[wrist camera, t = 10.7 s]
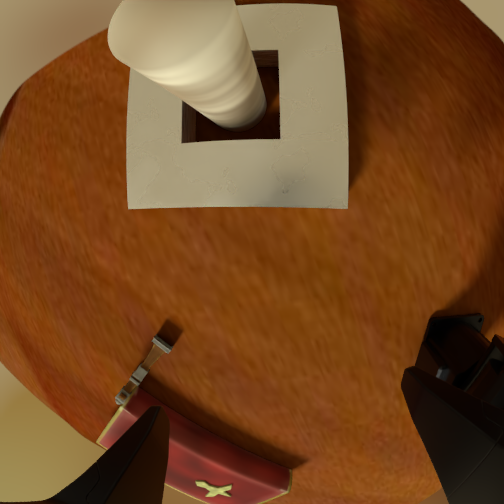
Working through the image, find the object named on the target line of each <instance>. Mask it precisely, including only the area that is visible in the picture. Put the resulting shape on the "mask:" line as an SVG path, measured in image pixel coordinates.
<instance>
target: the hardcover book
mask: <svg viewBox="0 0 504 504" xmlns="http://www.w3.org/2000/svg"><path fill="white" fill-rule="evenodd" d="M152 405H160V406H162V407H163V408H164V410H165V412H166V414H167V416H168V418H169V421H170V433H169V458H168V465H167V471H166V478H165V485H167V486H169V487H171V488H173V489H175V490H177V491H179V492H181V493H184V494H186V495H188V496H190V497H192V498H195V499H197V500H199V501H202V502H204V503H207V504H262V503H265V502H267V501H270V500H272V499H275V498H277V497H280V496H282V495H284V494H287V493H289V492H290V490H291V485H292V470H291V469H288V468H286V467H283V466H281V465H278V464H276V463H274V462H271V461H269V460H267V459H264V458H262V457H260V456H257V455H255V454H253V453H251V452H249V451H247V450H244V449H242V448H240V447H238V446H236V445H234V444H232V443H230V442H228V441H226V440H224V439H223V438H221V437H219V436H217V435H215V434H213V433H211V432H209V431H208V430H206V429H204V428H202V427H201V426H199V425H197V424H195V423H194V422H192V421H190V420H189V419H187V418H185V417H184V416H182V415H180V414H179V413H177V412H176V411H174V410H172V409H171V408H169V407H168V406H166V405H165V404H163V403H162V402H160V401H159V400H157V399H156V398H154V397H153V396H151V395H150V394H148V393H147V392H146V391H144V390H143V389H141V388H140V387H139V386H137V385H136V386H135V388H134V389H133V390H132V393H131V395H130V396H129V397H128V398H127V399H126V401H125V402H124V404H122V405H121V406H120V408H119V409H118V410H117V412H116V413H115V415H114V416H113V418H112V419H111V421H110V422H109V423H108V425H107V426H106V428H105V429H104V431H103V432H102V434H101V435H100V437H99V438H98V439H97V441H96V442H97V443H98V444H99V445H101V446H102V447H104V448H105V449H107V450H108V449H109V448H110V447H111V446H112V445H113V444H114V443H115V442H116V441H117V440H118V439H119V438H120V437H121V436H122V435H123V434H124V433H125V432H126V431H127V430H128V429H129V428H130V427H131V426H132V425H133V424H134V423H135V422H136V421H137V419H138V418H139V417H140V416H141V415H142V414H143V413H144V412H145V411H146V410H147V409H148V408H149V407H150V406H152Z"/></svg>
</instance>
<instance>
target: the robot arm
mask: <svg viewBox="0 0 504 504" xmlns="http://www.w3.org/2000/svg"><path fill="white" fill-rule="evenodd" d="M483 321H484V316H483V315H482V314H480V313H478V314H468V315H457V316H445V317H433V318H431V319H430V320H429V322H428V325H427V329H426V333H425V336H424V340H423V342H422V344H421V347H420V351H419V354H418V357H417V360H416V363H415V366H412V367H409V368H406V369H405V370H404V374H403V378H402V382H401V389H402V392H403V394H404V397H405V400H406V403H407V406H408V409H409V412H410V414H411V417H412V420H413V422H414V424H415V426H416V428H417V431H418V433H419V435H420V437H421V439H422V441H423V443H424V446H425V448H426V450H427V452H428V454H429V457H430V459H431V461H432V463H433V466H434V468H435V470H436V473H437V475H438V477H439V480H440V482H441V485H442V487H443V489H444V492H445V494H446V497H447V500H448V502H449V504H504V338H502V337H501V336H499V335H497V334H495V335H494V337H493V338H492V342H490V341H489V340H488V339H487V338H486V337H485V336H484V335H483V334H482V333H481V332H480V330H481V327H482V324H483ZM434 322H435V324H434V325H432V324H433V323H434ZM169 433H170V421H169V418H168V416H167V414H166V412H165V410H164V408H163V407H162V406H160V405H152V406H150V407H149V408H148V409H147V410H146V411H145V412H144V413H143V414H142V415H141V416H140V417H139V418H138V419H137V421H136V422H135V423H134V424H133V425H132V426H131V427H130V428H129V429H128V430H127V431H126V432H125V433H124V434H123V435H122V436H121V437H120V438H119V439H118V440H117V441H116V442H115V443H114V444H113V445H112V446H111V447H110V448H109V449H108V450H107V451H106V452H105V453H104V454H103V455H102V456H101V457H100V458H99V459H98V460H97V462H95V463H94V464H93V465H92V466H91V467H90V468H89V469H87V470H86V471H85V472H84V473H83V474H82V475H81V476H80V477H78V478H77V479H76V480H75V481H74V482H72V483H71V484H69V485H68V486H67V487H65V488H64V489H63V490H61V491H60V492H59V493H57V494H56V495H54V496H53V497H51V498H49V499H46V500H43V501H31V502H0V504H162V498H163V491H164V484H165V478H166V471H167V465H168V458H169Z"/></svg>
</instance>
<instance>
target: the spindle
mask: <svg viewBox="0 0 504 504" xmlns="http://www.w3.org/2000/svg"><path fill="white" fill-rule="evenodd" d="M108 43H109V47H110V50H111V51H112V53H113V55H114V56H115V57H116V58H117V59H118V60H120V61H121V62H122V63H124V64H126V65H128V66H129V67H131V68H133V69H134V70H136V71H137V72H139V73H141V74H142V75H144V76H146V77H147V78H149V79H150V80H152V81H154V82H155V83H157V84H158V85H160V86H161V87H163V88H165V89H166V90H168V91H169V92H171V93H172V94H174V95H175V96H177V97H178V98H180V99H181V100H183V101H184V102H186V103H187V104H189V105H190V106H191V107H193V108H194V109H196V110H197V111H199V112H200V113H202V114H203V115H204V116H206V117H207V118H209V119H210V120H211V121H213V122H214V123H216V124H217V125H218V126H220V127H221V128H223V129H225V130H228V131H231V132H242V131H246V130H249V129H251V128H253V127H255V126H256V125H257V124H258V123H259V122H260V121H261V120H262V118H263V117H264V115H265V112H266V107H267V102H266V97H265V94H264V90H263V87H262V84H261V80H260V77H259V74H258V70H257V67H256V64H255V61H254V58H253V54H252V51H251V48H250V45H249V42H248V39H247V36H246V33H245V30H244V27H243V24H242V21H241V18H240V15H239V12H238V10H237V7H236V4H235V1H234V0H123V1H122V3H121V4H120V5H119V7H118V8H117V10H116V11H115V13H114V15H113V17H112V19H111V22H110V25H109V30H108Z"/></svg>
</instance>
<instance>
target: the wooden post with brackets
mask: <svg viewBox="0 0 504 504" xmlns="http://www.w3.org/2000/svg"><path fill="white" fill-rule="evenodd" d="M152 342H154V345H153V347H152V349H151V351H150V353H149V354H148V356H147V358H146V359H145V361H144V363H143V364H142V363H141V364H140V365H139V367H138V369H137V370H136V371H134V372H133V374H132V376H131V377H130V380H129V382H128V383H127V384H126V386H124V387H123V388H122V389H121V391H120V392H119V393H118V394H117V396H116V397H115V398H116V403H117V404H119V405H120V404H124V402H125V401H126V399H127V398H128V397H129V396H130V395H131V393H132V390H133V389H134V388H135V386H136V385H137V386H138V385H139V384H140V383H141V381H142V380H143V378H144V377H145V375H146V374H147V373H148V372H149V370H150V369H149V368H150V367H151V366H152V365H153V364H154V363H155V362H156V360H157V359H158V358H159V357H160V356H161V355H162V354H163V353H164V352H166V353H169V352H170V351H171V350H172V348H173V346H172V347H171V346H169V345H168V344H167V343H166V342H164V341H163V340H162V339H160V338H159V337H158V336H157V334H156V336H155V337H154V339H153V340H152Z"/></svg>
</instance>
